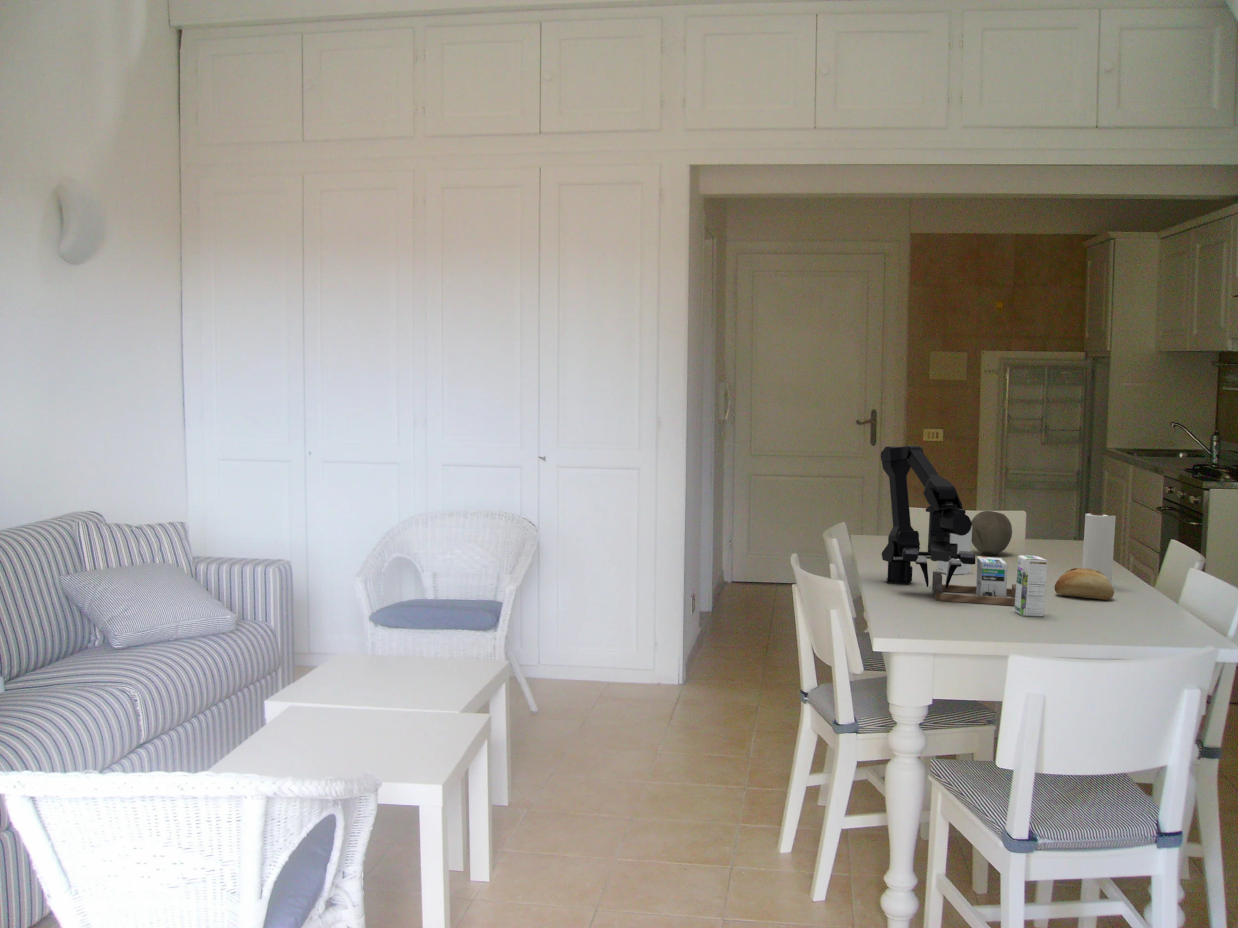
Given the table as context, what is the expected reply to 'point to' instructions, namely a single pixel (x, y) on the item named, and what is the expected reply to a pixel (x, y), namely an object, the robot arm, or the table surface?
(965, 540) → the skincare box
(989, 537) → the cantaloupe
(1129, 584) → the table surface
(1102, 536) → the paper towel roll
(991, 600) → the brown rectangular frame
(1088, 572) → the bread roll
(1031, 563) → the syrup box
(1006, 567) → the light bulb box
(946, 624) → the table surface
